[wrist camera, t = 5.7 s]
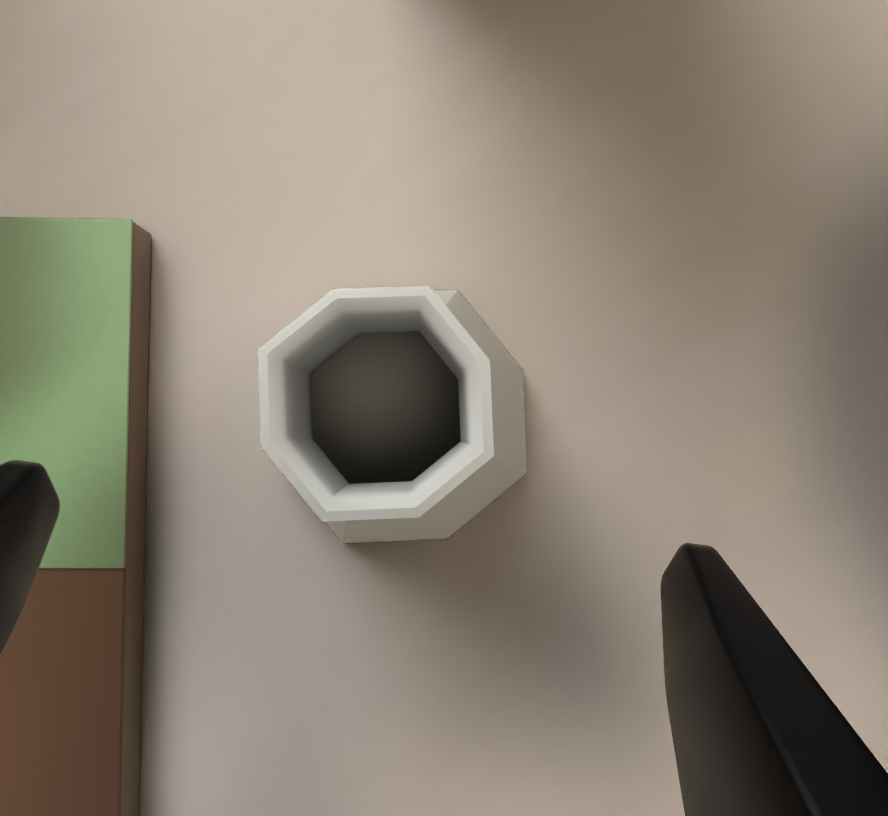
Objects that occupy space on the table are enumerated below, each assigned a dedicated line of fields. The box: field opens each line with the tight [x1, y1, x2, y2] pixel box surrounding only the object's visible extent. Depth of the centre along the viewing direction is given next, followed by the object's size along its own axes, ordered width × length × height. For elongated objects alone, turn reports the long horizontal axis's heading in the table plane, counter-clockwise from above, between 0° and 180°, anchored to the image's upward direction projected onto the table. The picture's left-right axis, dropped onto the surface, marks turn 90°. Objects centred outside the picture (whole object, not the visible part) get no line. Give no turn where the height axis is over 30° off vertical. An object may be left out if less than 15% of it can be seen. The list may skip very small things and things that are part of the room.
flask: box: [257, 286, 527, 543], centre depth 14 cm, size 7×7×10 cm
